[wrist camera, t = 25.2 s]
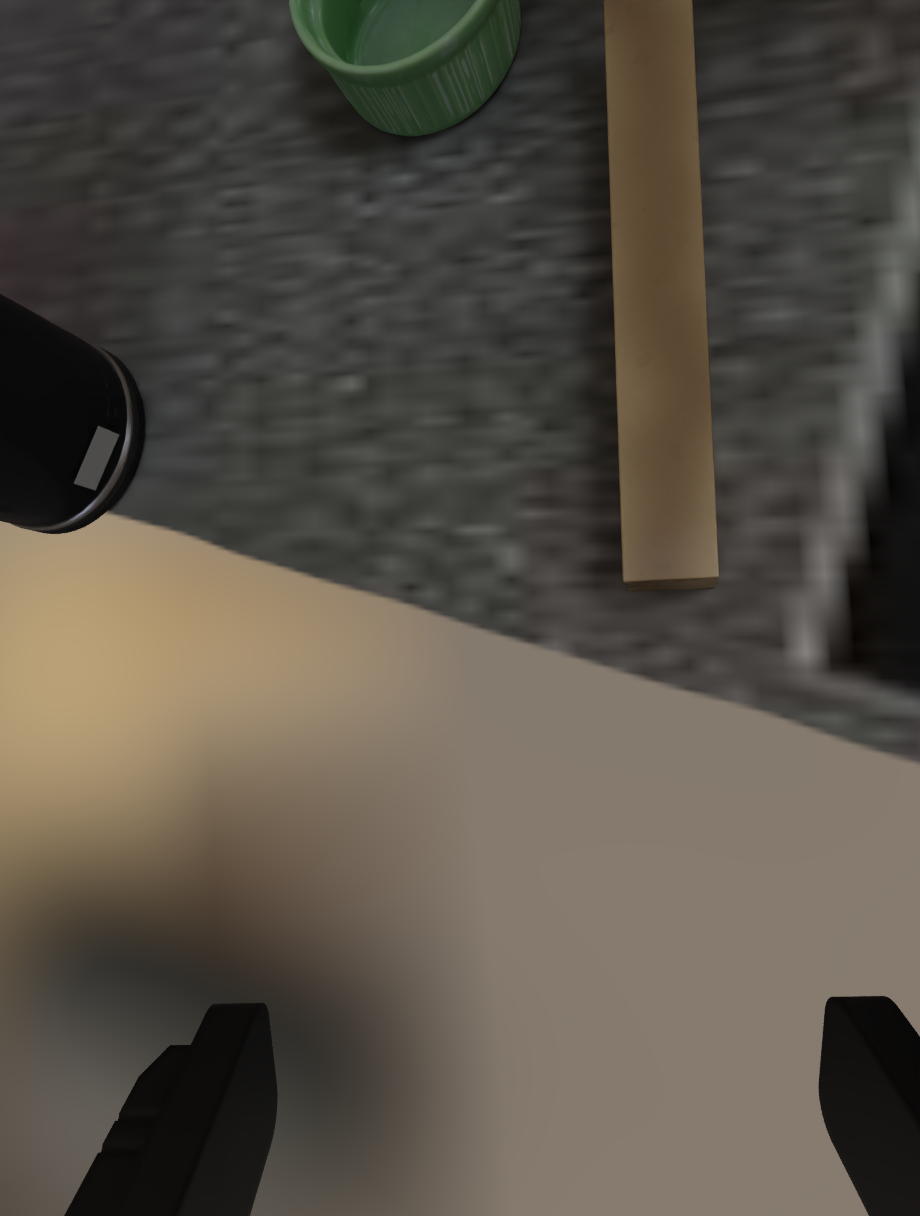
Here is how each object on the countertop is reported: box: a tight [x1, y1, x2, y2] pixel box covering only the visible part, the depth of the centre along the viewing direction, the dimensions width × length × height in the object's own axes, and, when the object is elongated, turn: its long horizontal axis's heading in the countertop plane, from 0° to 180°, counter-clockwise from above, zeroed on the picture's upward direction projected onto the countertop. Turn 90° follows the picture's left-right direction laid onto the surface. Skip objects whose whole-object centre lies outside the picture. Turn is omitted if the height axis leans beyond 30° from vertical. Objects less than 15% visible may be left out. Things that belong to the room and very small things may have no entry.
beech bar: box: [603, 0, 719, 592], centre depth 26 cm, size 3×21×3 cm, turn 1°
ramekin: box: [289, 0, 521, 136], centre depth 29 cm, size 9×9×4 cm
